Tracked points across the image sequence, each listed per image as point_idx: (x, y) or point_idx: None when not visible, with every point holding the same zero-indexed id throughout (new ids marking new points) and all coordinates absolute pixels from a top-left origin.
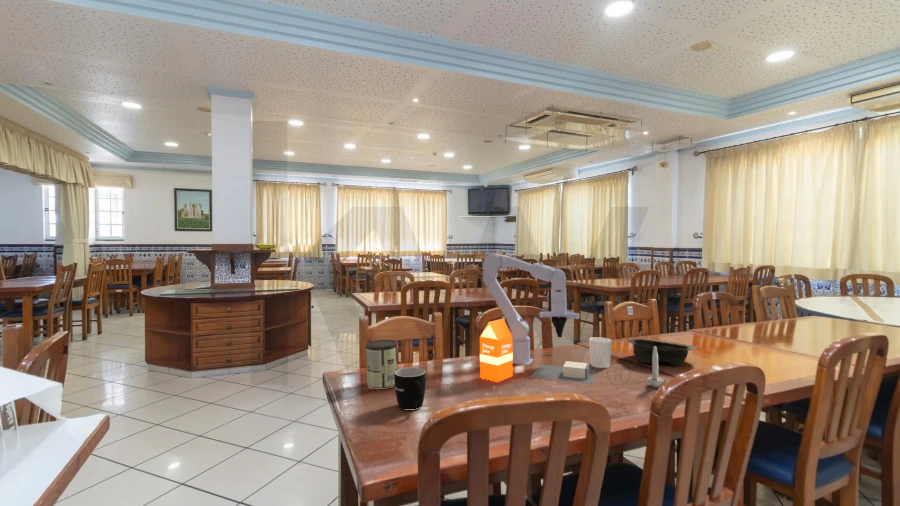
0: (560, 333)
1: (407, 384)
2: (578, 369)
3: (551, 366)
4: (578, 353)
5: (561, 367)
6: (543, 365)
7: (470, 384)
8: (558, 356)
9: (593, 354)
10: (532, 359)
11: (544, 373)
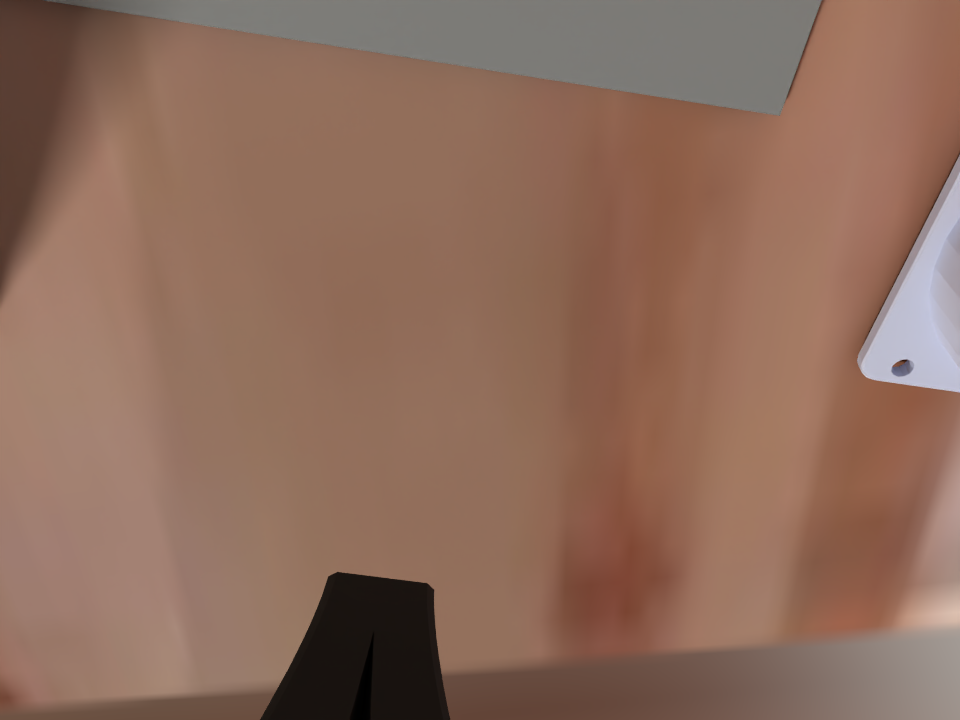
0: (318, 660)
1: None
2: None
3: (581, 33)
4: (260, 669)
5: (397, 7)
6: (726, 68)
7: None
8: (476, 558)
9: None
10: (875, 341)
11: None
